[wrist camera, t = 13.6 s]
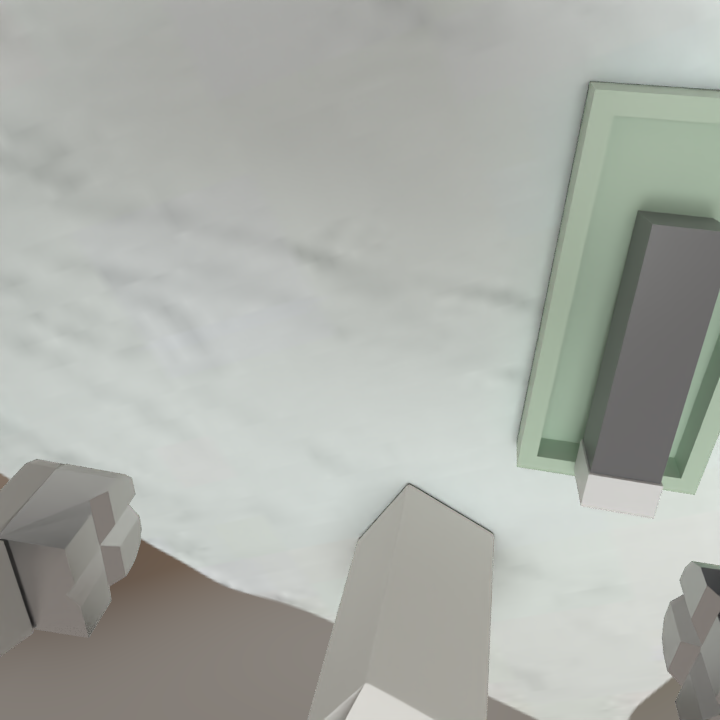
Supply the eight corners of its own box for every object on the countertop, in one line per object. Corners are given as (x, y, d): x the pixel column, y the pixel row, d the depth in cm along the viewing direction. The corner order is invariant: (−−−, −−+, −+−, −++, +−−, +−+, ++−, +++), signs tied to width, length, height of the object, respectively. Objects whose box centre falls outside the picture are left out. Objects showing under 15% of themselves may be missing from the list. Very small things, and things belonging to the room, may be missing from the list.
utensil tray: (516, 441, 41) (516, 466, 39) (589, 80, 31) (595, 89, 28) (685, 467, 40) (694, 494, 38) (824, 97, 29) (848, 107, 27)
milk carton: (408, 481, 45) (348, 766, 29) (495, 532, 46) (483, 838, 30) (357, 539, 49) (278, 819, 33) (438, 586, 49) (400, 882, 33)
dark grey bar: (635, 210, 32) (651, 225, 29) (715, 218, 32) (740, 234, 29) (573, 469, 38) (580, 506, 35) (640, 480, 38) (653, 518, 35)
